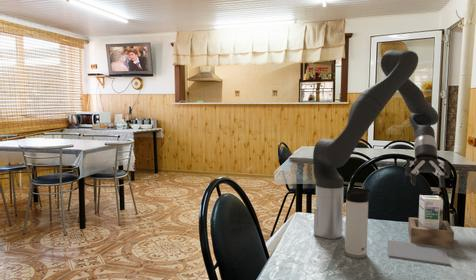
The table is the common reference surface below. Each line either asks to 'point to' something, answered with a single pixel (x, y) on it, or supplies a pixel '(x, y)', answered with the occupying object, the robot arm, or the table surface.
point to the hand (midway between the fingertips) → (427, 185)
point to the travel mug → (356, 223)
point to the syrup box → (430, 212)
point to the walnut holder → (430, 234)
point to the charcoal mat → (417, 252)
